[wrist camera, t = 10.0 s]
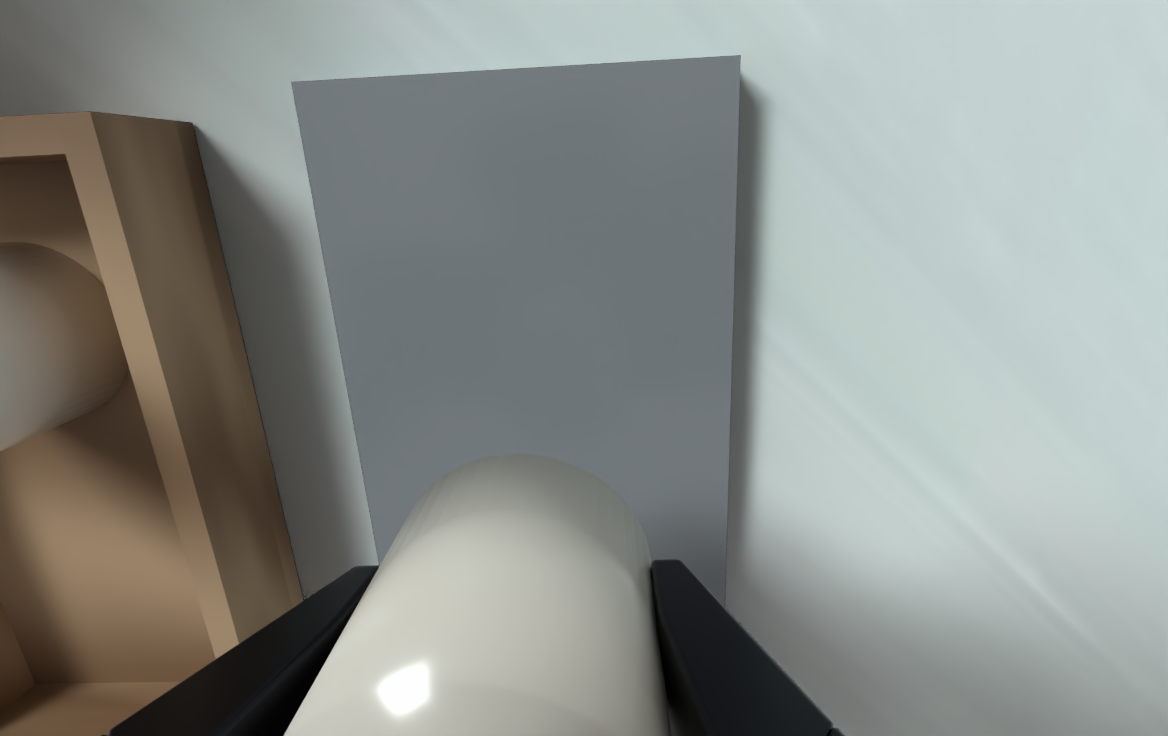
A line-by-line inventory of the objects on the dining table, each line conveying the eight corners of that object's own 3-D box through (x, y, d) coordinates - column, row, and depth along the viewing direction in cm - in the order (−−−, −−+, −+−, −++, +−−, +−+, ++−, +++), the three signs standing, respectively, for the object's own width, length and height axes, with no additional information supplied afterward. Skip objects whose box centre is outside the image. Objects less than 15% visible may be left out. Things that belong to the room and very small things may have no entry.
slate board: (716, 692, 16) (721, 718, 15) (417, 695, 16) (407, 722, 16) (731, 62, 11) (740, 54, 11) (311, 87, 12) (291, 81, 11)
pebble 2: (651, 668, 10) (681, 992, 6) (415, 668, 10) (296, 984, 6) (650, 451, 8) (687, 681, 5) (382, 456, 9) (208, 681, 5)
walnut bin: (322, 682, 16) (274, 770, 14) (37, 686, 17) (-57, 772, 14) (192, 122, 12) (89, 111, 10) (-190, 144, 12) (-380, 138, 10)
